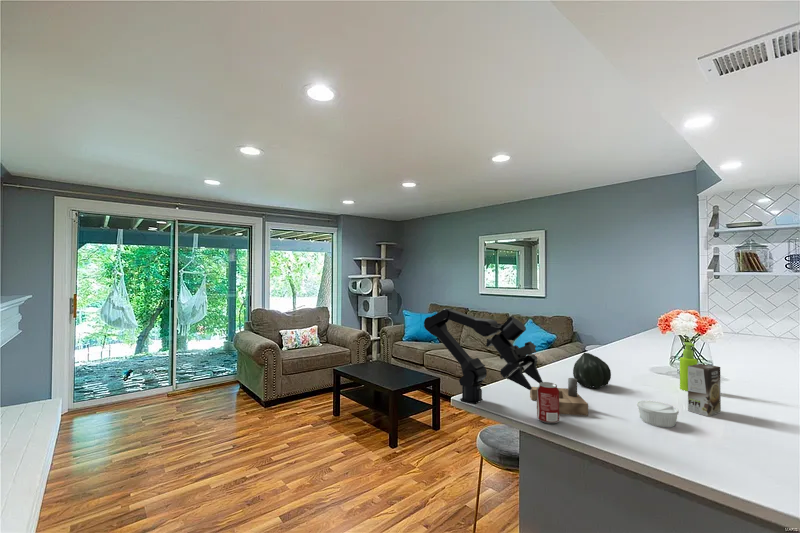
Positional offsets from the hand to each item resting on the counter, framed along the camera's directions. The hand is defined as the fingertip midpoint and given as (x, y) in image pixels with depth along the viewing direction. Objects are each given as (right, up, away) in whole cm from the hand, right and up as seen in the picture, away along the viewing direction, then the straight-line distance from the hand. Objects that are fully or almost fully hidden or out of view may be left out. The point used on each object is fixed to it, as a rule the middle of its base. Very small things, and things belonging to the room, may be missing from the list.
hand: (536, 386), depth 126 cm
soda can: (+3, -11, -3) cm, 12 cm away
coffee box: (+62, -11, +6) cm, 63 cm away
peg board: (+12, -11, +12) cm, 20 cm away
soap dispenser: (+76, -12, +31) cm, 83 cm away
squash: (+37, -12, +37) cm, 54 cm away
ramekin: (+39, -11, -3) cm, 40 cm away
